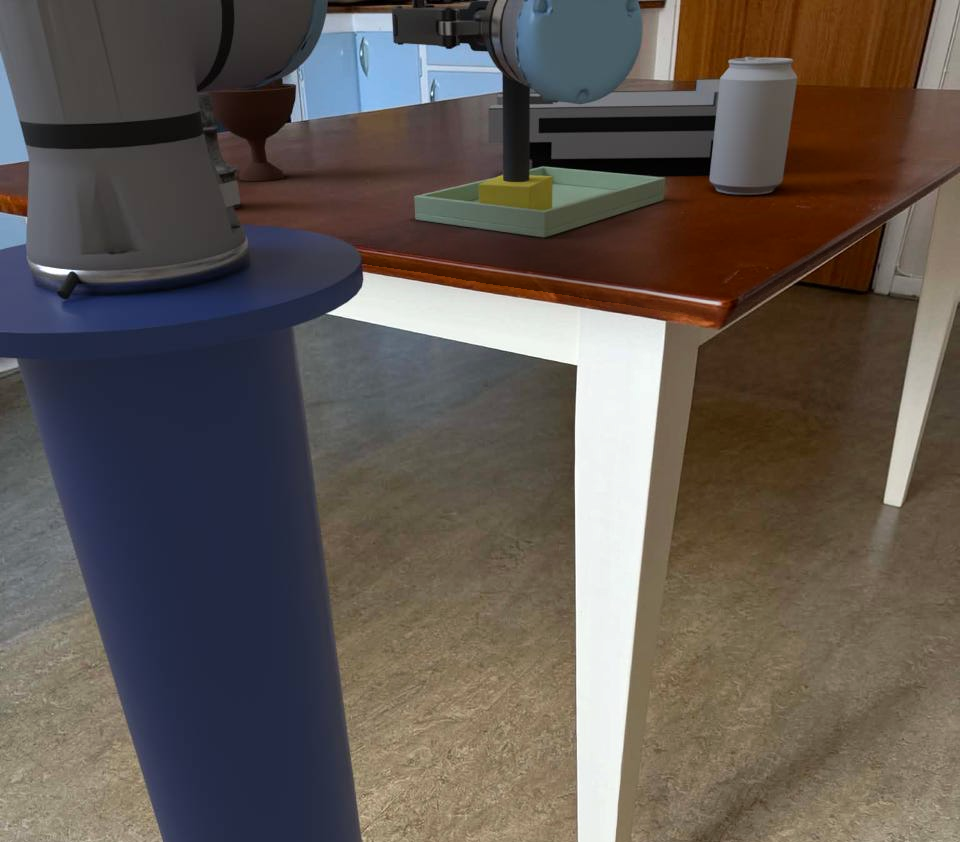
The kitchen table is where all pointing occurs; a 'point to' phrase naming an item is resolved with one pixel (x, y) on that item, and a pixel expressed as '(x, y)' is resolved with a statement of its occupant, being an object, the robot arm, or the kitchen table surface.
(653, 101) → the game console
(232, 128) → the ice cream bowl
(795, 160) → the kitchen table surface
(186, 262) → the robot arm
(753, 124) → the can
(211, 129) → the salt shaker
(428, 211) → the tray
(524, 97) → the sponge wand
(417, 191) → the kitchen table surface
